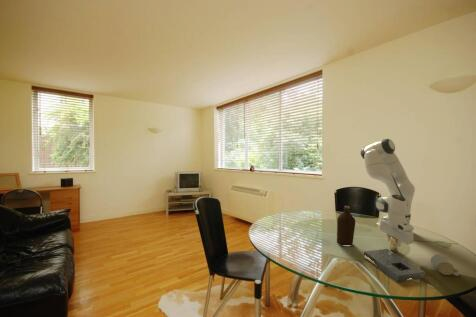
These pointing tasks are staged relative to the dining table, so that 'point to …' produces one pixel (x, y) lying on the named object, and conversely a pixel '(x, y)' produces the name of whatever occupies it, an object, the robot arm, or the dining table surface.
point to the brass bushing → (393, 244)
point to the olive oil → (345, 227)
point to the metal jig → (394, 265)
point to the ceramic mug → (443, 265)
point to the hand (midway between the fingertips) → (394, 243)
